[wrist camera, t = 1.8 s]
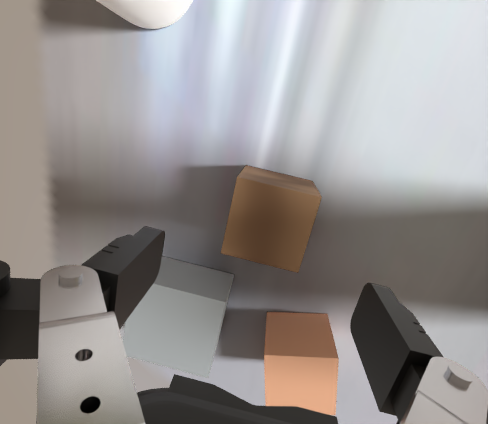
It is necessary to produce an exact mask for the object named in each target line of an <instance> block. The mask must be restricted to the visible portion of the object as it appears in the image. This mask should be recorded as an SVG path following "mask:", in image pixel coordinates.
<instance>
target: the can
mask: <svg viewBox="0 0 488 424" xmlns="http://www.w3.org/2000/svg"><path fill="white" fill-rule="evenodd" d="M96 1H97V2H99V3H101V4H102V5H104V6H105V7H107V8H108V9H110V10H111V11H113V12H114V13H116V14H117V15H119V16H120V17H122V18H124V19H125V20H127V21H129V22H130V23H132V24H134V25H136V26H139V27H142V28H147V29H159V28H163V27H167V26H170V25H172V24H174V23H175V22H177V21H178V20H179V19H180V18H181V17H182V16H183V15H184V14H185V12H186V11H187V10H188V8H189V7H190V5H191V3H192V2H193V0H96Z"/></svg>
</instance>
